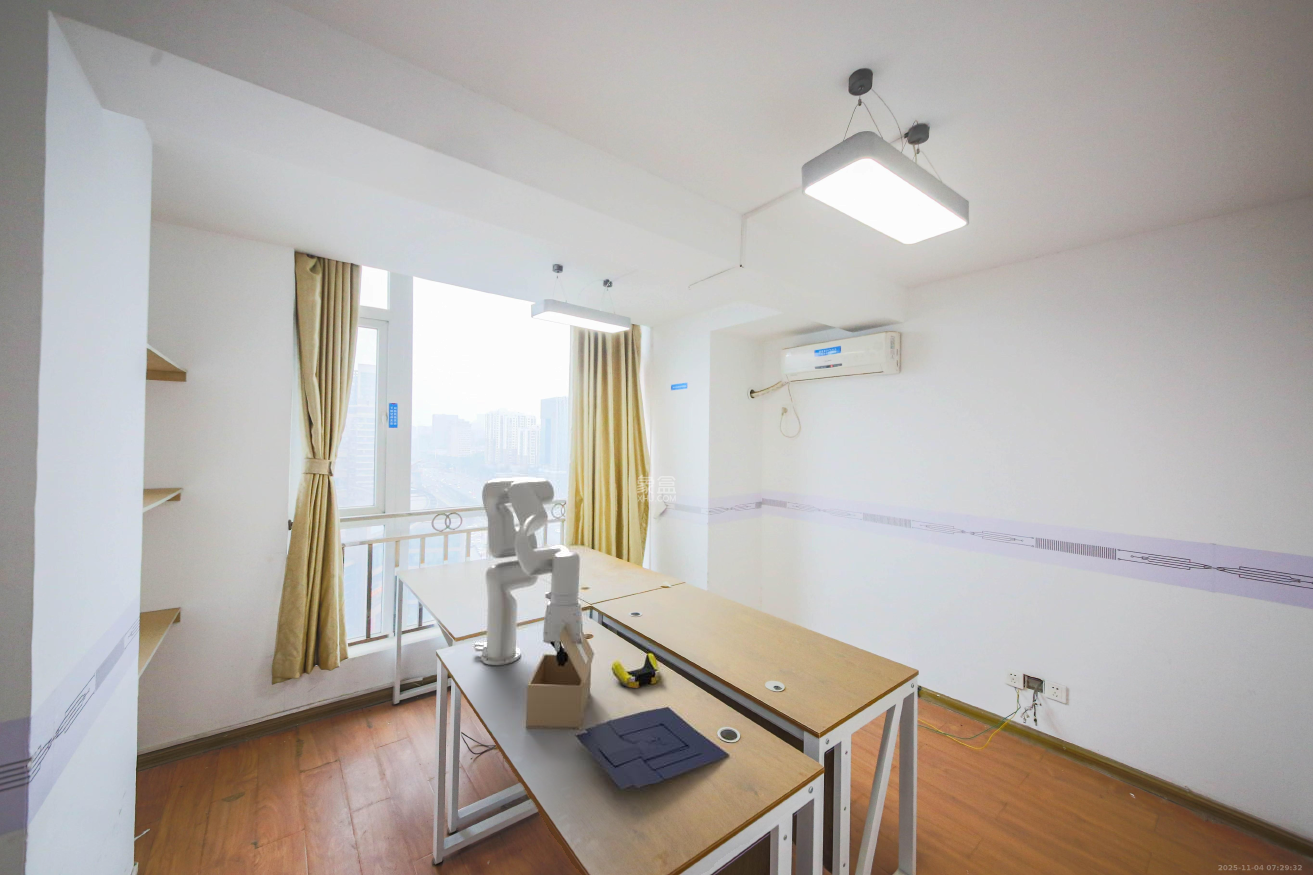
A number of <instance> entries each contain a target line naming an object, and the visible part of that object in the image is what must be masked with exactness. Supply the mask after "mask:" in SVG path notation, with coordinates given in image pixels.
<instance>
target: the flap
mask: <svg viewBox="0 0 1313 875" xmlns="http://www.w3.org/2000/svg"><path fill="white" fill-rule="evenodd" d="M559 638H560V640H561V643H562V647H563V648H565V650H566V652H567V654H568V656H569V658H570V660H571V662H572V664H573V665H574V667H575V669H576V671H577V673H578V675H579V677H580V679H581V681H582V683H583V685H584V684H585V683H586V680H587V677H588V673H589V670H590V666H591V667H592V662H593V659H594V655H595V652H594V651H593V649H592V647H591V645H590V643H589V641H588V639H587V637H586V635H585V633H584V631H583V630H582V639H583V641H582V643H581V644H578V645H577V643H576V642H575V643H573V642H572V640H571V638H570V636H569V634H568V632H567V630H566V628H565V627H563V629H562V631H561V633H560V635H559Z"/></svg>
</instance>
